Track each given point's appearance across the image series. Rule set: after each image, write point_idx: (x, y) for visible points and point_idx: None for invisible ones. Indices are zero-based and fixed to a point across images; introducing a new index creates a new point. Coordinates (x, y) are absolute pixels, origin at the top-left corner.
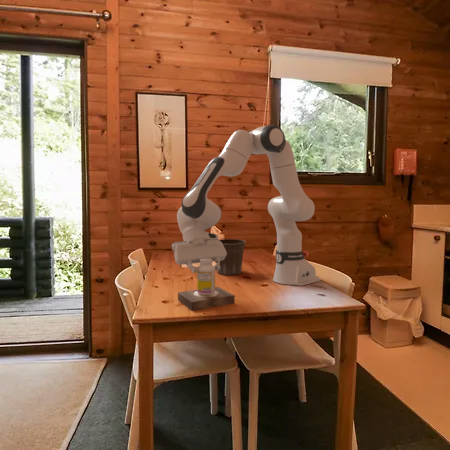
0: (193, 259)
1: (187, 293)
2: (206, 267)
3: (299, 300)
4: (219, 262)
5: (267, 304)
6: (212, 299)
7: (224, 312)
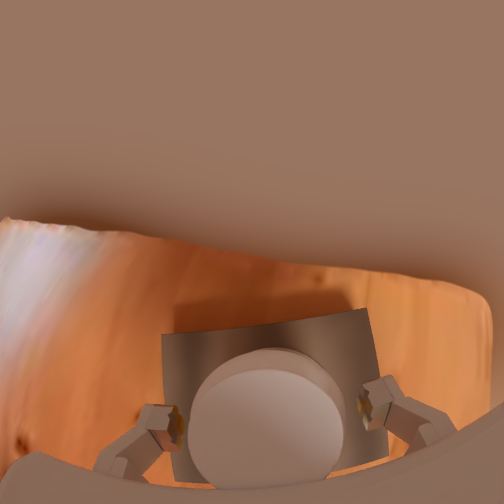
0: (404, 458)
1: (355, 433)
2: (286, 365)
3: (28, 280)
4: (123, 435)
5: (94, 285)
6: (270, 324)
7: (249, 265)
